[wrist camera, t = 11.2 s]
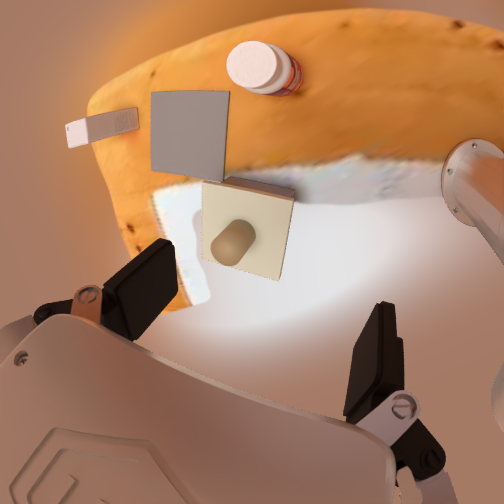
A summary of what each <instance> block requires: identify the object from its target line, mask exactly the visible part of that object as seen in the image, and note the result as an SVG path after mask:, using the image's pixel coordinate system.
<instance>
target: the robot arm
mask: <svg viewBox="0 0 504 504" xmlns="http://www.w3.org/2000/svg"><path fill="white" fill-rule="evenodd" d="M472 143H473V146H472ZM448 169H450V170H449V172H447V170H448ZM442 192H443V197H444V200H445V203H446V204H447V206H448V208H449V210H450V211H451V213H452V214H453V215H454V216H455V217H456V218H457V219H458V220H459V221H461V222H462V223H464V224H466V225H469V226H473V227H477V229H478V230H479V231H480V232H481V234H482V235H483V236H484V238H485V239H486V240H487V242H488V243H489V244H490V246H491V247H492V249H493V250H494V251H495V253H496V254H497V256H498V257H499V259H500V260H501V262H502V263H503V265H504V153H503V152H502V151H501V150H500V149H499V148H498V147H497V146H496V145H494V144H493V143H491V142H489V141H486V140H483V139H469V140H465V141H464V142H462V143H460V144H458V145H457V146H456V147H455V148H454V149H453V150H452V151H451V153H450V154H449V156H448V158H447V160H446V162H445V165H444V168H443V172H442ZM454 207H455V209H454ZM103 285H104V288H103V289H102V290H101V288H99V287H98V286H96V285H87V286H84V287H81V288H80V289H79V290H77V292H76V293H75V295H74V298H73V299H70V300H65V301H59V302H53V303H47V304H44V305H42V306H40V307H39V308H38V309H37V310H36V311H35V313H34V316H33V317H32V315H28V316H26V317H24V318H22V319H19V320H17V321H15V322H12V323H10V324H8V325H6V326H4V327H2V328H1V329H0V504H392V501H393V496H394V490H395V486H397V487H399V488H400V491H401V495H400V499H401V504H458V501H457V498H456V495H455V492H454V489H453V486H452V483H451V480H450V477H449V475H448V472H446V473H445V472H444V469H443V467H444V465H445V462H446V455H445V451H444V450H443V448H442V447H441V445H440V444H439V443H438V442H437V441H436V439H435V438H434V437H433V436H432V434H431V433H430V432H429V431H428V430H427V428H426V427H425V426H424V425H423V424H422V422H421V421H420V420H419V419H418V416H419V414H420V404H419V401H418V399H417V398H416V397H415V396H414V395H413V394H412V393H410V392H408V391H404V352H403V339H402V338H400V337H397V329H396V315H395V314H396V313H395V305H394V304H392V303H388V302H384V301H382V302H381V303H380V304H378V303H377V304H376V305H375V307H374V309H373V311H372V313H371V315H370V317H369V319H368V321H367V323H366V325H365V327H364V328H363V330H362V332H361V334H360V336H359V338H358V340H357V342H356V344H355V346H354V349H353V355H352V362H351V369H350V376H349V383H348V389H347V395H346V401H345V406H344V411H343V416H347V417H346V422H344V421H341V420H337V419H334V418H330V417H327V416H323V415H319V414H315V413H312V412H308V411H305V410H301V409H298V408H294V407H291V406H288V405H284V404H281V403H278V402H275V401H271V400H268V399H265V398H262V397H259V396H256V395H253V394H250V393H248V392H245V391H242V390H239V389H237V388H234V387H231V386H229V385H226V384H223V383H221V382H218V381H216V380H213V379H211V378H208V377H206V376H203V375H201V374H199V373H196V372H194V371H192V370H189V369H187V368H185V367H182V366H180V365H178V364H176V363H174V362H172V361H170V360H167V359H165V358H163V357H161V356H159V355H157V354H155V353H153V352H151V351H149V350H147V349H145V348H143V347H141V346H139V345H137V344H135V343H133V341H134V340H137V339H138V338H139V337H140V336H141V335H142V334H143V333H144V331H145V330H146V329H147V328H148V327H149V326H150V324H151V323H152V322H153V321H154V320H155V319H156V317H157V316H158V315H159V314H160V313H161V312H162V311H163V309H164V308H165V307H166V306H167V305H168V304H169V303H170V301H171V300H172V299H173V298H174V297H175V296H176V294H177V292H178V282H177V271H176V259H175V247H174V245H172V242H171V241H169V240H166V239H162V238H159V239H157V240H156V241H155V242H154V243H152V244H151V245H150V246H149V247H147V248H146V249H145V250H144V251H142V252H141V253H140V254H139V255H138V256H136V257H135V258H134V259H133V260H131V261H130V262H129V263H128V264H127V265H125V266H124V267H123V268H122V269H121V270H120V271H118V272H117V273H116V274H115V275H114V276H113V277H111V278H110V279H109V280H108V281H107V282H106V283H104V284H103ZM491 405H492V410H493V414H494V417H495V419H496V421H497V423H498V425H499V427H500V428H501V429H502V431H503V432H504V362H503V364H502V365H501V367H500V368H499V370H498V372H497V374H496V376H495V379H494V382H493V385H492V390H491Z"/></svg>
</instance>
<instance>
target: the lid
mask: <svg viewBox="0 0 504 504" xmlns="http://www.w3.org/2000/svg"><path fill="white" fill-rule="evenodd" d="M293 204H294V198H290V197H285V196H281V195H277V194H272V193H268V192H263V191H258V190H254V189H249V188H244V187H239V186H234V185H229V184H224V183H218V182H213V181H207V180H205V181H204V182H202V259H205V260H208V261H211V262H215V263H218V264H222V265H225V266H228V267H231V268H235V269H238V270H242V271H245V272H248V273H252V274H255V275H258V276H262V277H265V278H269V279H272V280H276V281H279V279H280V276H281V271H282V266H283V261H284V255H285V250H286V245H287V239H288V233H289V228H290V222H291V216H292V210H293Z"/></svg>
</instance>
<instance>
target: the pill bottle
mask: <svg viewBox="0 0 504 504" xmlns="http://www.w3.org/2000/svg"><path fill="white" fill-rule="evenodd" d="M227 72H228V74H229V76H230V78H231V79H232V80H233V81H234V82H235V83H236V84H238V85H240V86H242V87H244V88H245V89H247V90H248V91H250V92H253V93H256V94H263V95H272V96H286V95H289V94H292V93H293V92H295V91H296V90H297V89H298V88H299V87H300V85H301V83H302V80H303V71H302V68H301V66H300V64H299V63H298V62H297V61H296V60H295V59H294V58H293V57H291V56H290V55H289V54H288V53H286V52H285V51H284V50H282V49H281V48H280V47H278V46H275V45H273V44H268V43H262V42H259V41H247V42H243V43H241V44H239V45H238V46H236V47H235V48H234V49H233V50H232V51H231V53H230V54H229V56H228V59H227Z"/></svg>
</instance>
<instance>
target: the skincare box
mask: <svg viewBox="0 0 504 504" xmlns="http://www.w3.org/2000/svg"><path fill="white" fill-rule="evenodd" d="M65 127H66V134H67V142H68V147H69V148H73V147H77V146H81V145H84V144H89V143H92V142H95V141H98V140H101V139H105V138H108V137H112V136H115V135H119V134H122V133H126V132H130V131H134V130H137V129H139V121H138V110H137V107H135V108H129V109H123V110H118V111H113V112H108V113H103V114H98V115H94V116H90V117H85V118H83V119H80V120H76V121H73V122H71V123H68V124H66V125H65Z"/></svg>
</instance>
